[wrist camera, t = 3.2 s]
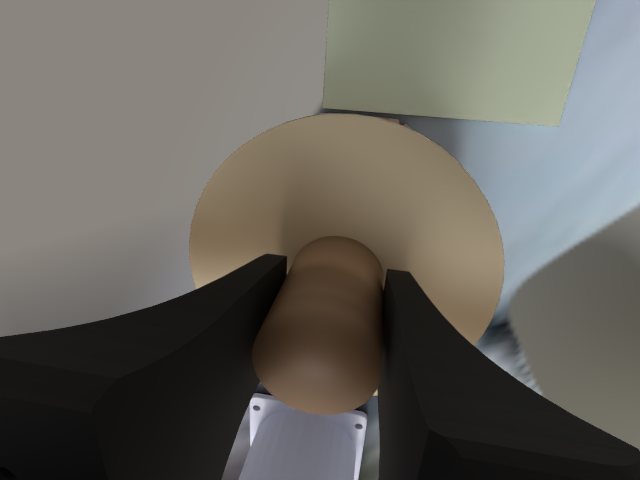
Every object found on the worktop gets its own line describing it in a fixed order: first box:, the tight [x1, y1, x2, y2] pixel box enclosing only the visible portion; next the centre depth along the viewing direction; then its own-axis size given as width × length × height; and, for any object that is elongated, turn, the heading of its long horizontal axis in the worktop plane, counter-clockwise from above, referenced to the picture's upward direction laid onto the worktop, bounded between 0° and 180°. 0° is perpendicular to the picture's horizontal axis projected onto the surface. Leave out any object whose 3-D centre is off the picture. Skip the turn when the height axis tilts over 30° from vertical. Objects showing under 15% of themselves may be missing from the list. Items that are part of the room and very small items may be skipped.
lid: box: [189, 113, 504, 415], centre depth 10 cm, size 9×9×4 cm
